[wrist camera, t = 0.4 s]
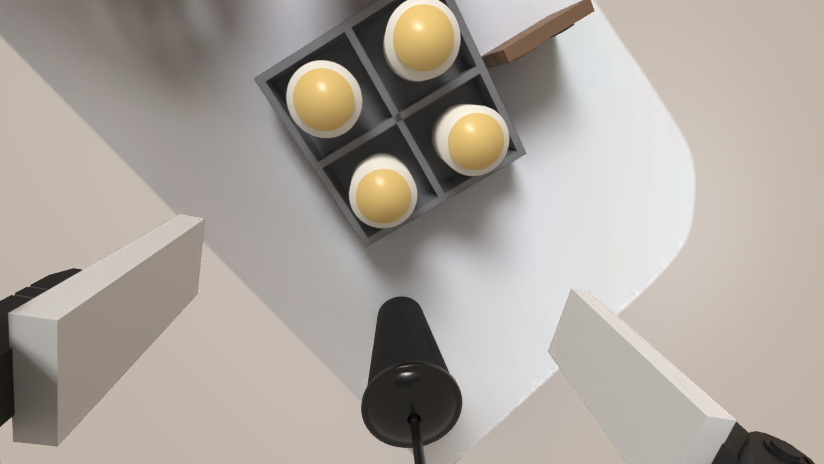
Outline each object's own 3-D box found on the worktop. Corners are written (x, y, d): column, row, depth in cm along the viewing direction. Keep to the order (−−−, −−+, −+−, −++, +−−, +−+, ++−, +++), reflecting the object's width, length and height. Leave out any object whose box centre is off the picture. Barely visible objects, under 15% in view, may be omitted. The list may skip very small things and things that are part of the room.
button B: (370, 34, 31) (370, 21, 26) (427, -2, 31) (439, -22, 26) (403, 94, 33) (409, 93, 28) (458, 60, 33) (474, 54, 28)
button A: (285, 87, 32) (269, 85, 27) (340, 52, 32) (334, 44, 27) (322, 143, 34) (313, 152, 29) (374, 111, 33) (375, 114, 28)
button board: (267, 80, 36) (253, 78, 31) (428, -21, 34) (436, -38, 30) (366, 231, 41) (365, 247, 36) (509, 147, 39) (526, 153, 35)
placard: (479, 57, 37) (503, 49, 30) (549, 15, 36) (589, -3, 30) (485, 70, 37) (510, 64, 30) (554, 28, 37) (595, 13, 30)
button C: (340, 172, 35) (335, 185, 29) (391, 141, 34) (395, 149, 29) (371, 221, 36) (372, 241, 31) (421, 192, 36) (430, 208, 31)
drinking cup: (363, 284, 42) (359, 435, 24) (437, 283, 43) (490, 429, 24) (363, 348, 45) (359, 533, 26) (433, 347, 46) (478, 525, 27)
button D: (420, 124, 34) (429, 129, 29) (473, 92, 34) (492, 91, 28) (448, 176, 36) (462, 189, 30) (500, 146, 35) (522, 154, 30)
